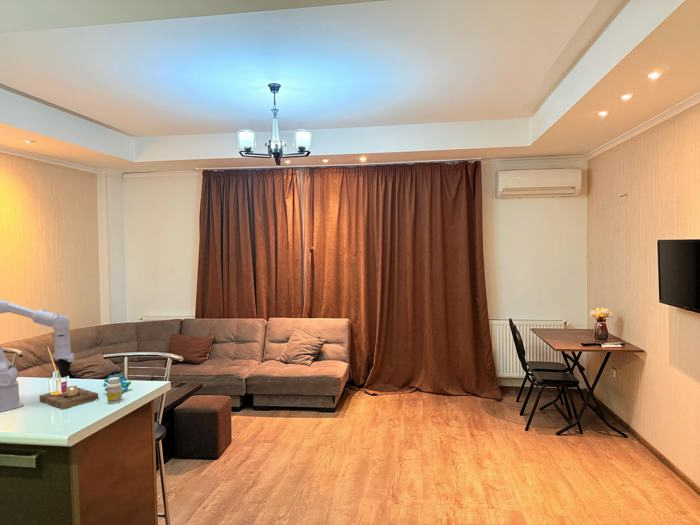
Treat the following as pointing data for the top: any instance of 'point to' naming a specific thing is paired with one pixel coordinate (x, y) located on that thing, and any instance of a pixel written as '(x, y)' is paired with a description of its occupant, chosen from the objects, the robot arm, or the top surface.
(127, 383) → the gear
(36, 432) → the top surface
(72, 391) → the cylinder
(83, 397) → the jig plate
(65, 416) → the top surface
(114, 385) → the supplement bottle
